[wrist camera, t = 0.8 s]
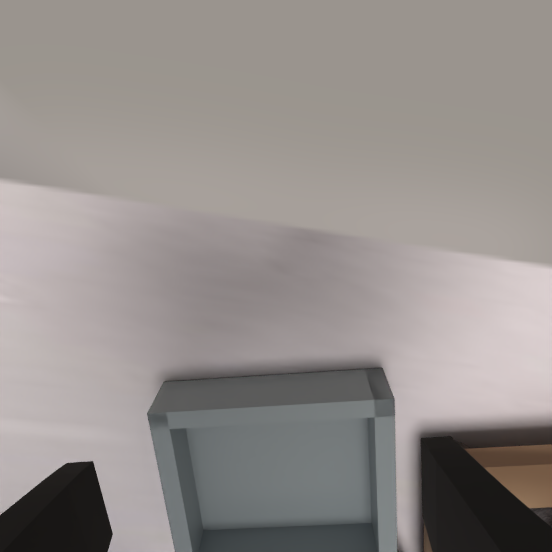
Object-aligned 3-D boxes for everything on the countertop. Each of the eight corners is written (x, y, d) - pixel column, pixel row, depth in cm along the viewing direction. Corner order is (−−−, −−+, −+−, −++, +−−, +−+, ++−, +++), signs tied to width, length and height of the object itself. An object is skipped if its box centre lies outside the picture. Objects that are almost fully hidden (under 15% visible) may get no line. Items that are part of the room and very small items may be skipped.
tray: (386, 526, 23) (397, 572, 20) (192, 535, 23) (180, 580, 21) (382, 367, 20) (394, 398, 18) (163, 381, 21) (147, 413, 18)
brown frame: (637, 555, 23) (678, 604, 20) (416, 563, 23) (430, 611, 21) (662, 419, 20) (711, 456, 18) (416, 432, 21) (432, 470, 19)
